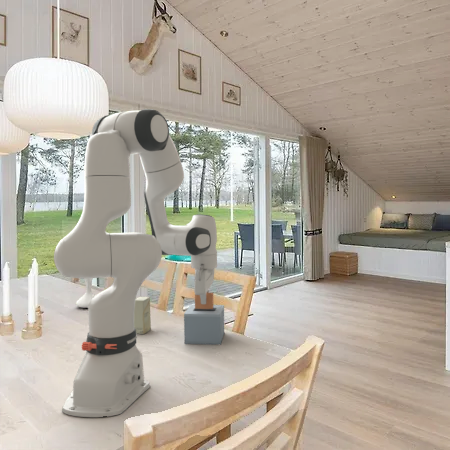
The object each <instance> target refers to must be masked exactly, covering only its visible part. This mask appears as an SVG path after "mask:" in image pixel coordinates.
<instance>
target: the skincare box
mask: <svg viewBox="0 0 450 450" xmlns="http://www.w3.org/2000/svg"><path fill="white" fill-rule="evenodd" d="M151 320H152V319H151V297H150V296H138V297H136V299H135V309H134V328H135V329H136V334H138V335H145V334H147V332H149V331H150V330H151V328H152V324H151Z"/></svg>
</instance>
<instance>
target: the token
mask: <svg viewBox="0 0 450 450" xmlns="http://www.w3.org/2000/svg"><path fill="white" fill-rule="evenodd" d="M206 298H207V302H206V304H201V298H200V295H195V294H194V305H195V309H213V305H214V292H209V293H207V294H206Z"/></svg>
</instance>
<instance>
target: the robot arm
mask: <svg viewBox="0 0 450 450" xmlns="http://www.w3.org/2000/svg"><path fill="white" fill-rule="evenodd" d="M137 154H138V155H139V158H140V163H141V166H142V169H143V172H144V175H145V180H146V184H145V185H144V187H143V197H144V203H145V207H146V211H147V216H148V221H149V224H150V225H149V226H150V229H151V230H150V231H151V234H150V233H149V234H148V233H143V232H137V231H135V232H107V231H106V229H107V226H108V225H109V224H110V223H111V222H113V221H115V220H117V219H119V218H121V217H122V216H124V215H126V214H127V213H128V212H129V210H130V209H131V206H132V191H131V190H132V187H131V185H132V182H131V180H132V179H131V167H130V155H137ZM83 165H84V169H83V171H84V174H83V177H84V180H83V181H84V196H83V197H84V198H83V208H82V212H81V215H80V217H79V219H78V222H77V223H76V225H75V226H74V228H72V230H70V232H68V233H67V235H65V236H64V237H62V239H60V241H58V243H57V245H56V247H55V249H54V253H53V261H54V265H55V268H56V270H57V271H58V272H59V274H61V276H62V277H65V278H71V279H82V280H84V279H87V278H93V279H97V278H100V279H101V278H112V279H113V281H112V283H111V285H110V286H109V287H107V288H106V289H104V290H102V291H100V292H99V293H97V294H94V295H95V296H94V297H93V298H92V299H91V301H90V303H89V306H88V308H87V311H88V312H87V313H88V314H87V315H88V332H87V335H86V336H87V337H86V340H85V341H83V342H82V343H81V350H82V351H85V353H84V356H83V358H82V360H81V363H80V364H79V368H78V370H77V373H76V375H75V377H74V380H73V385H72V387H73V388H72V391H71V392H70V393H69V395H68V397H67V398H66V400H65V402H64V403H63V406H62V409H61V412H62V413H63V414H66V415H69V416H73V417H81V418H83V417H84V418H103V416H107V417H112V416H117V415H120V414H122V413H123V412H125V411H126V410H127V408H129V407H130V406H131V405H132V404H133V403H134V402H135V401H137V399H138V398H139V397H140V396H141V395H143V393H145V391H147V390H148V389H149V388H150V387H151V383H150V381H149V380H147V379H145V373H144V372H145V371H144V361H143V353H142V352H141V351H140V350H139V349H138V347H137V337H138V336H137V334H136V329H135V328H134V309H135V299H136V298H137V294H138V292H139V290H140V288H141V286H142V284H143V282H144V281H145V280H147V278H148V277H149V275H151V274H152V273H154V272H155V270H156V269H158V267H159V265H160V264H161V261H162V257H163V256H174V255H175V256H185V257H186V256H188V257H189V256H190V265H191V266H190V267H191V268H192V269H194V286H193V287H194V288H193V289H194V296H195V295H200V298H201V304H206V302H207V298H206V294H207V293H210V288H211V287H212V285H213V283H214V280H215V269H216V268H217V267H218V251H217V241H218V235H217V234H218V232H217V223H216V219H215V218H214V217H213V216H212V215H210V214H209V215H208V214H203V213H199V214H194V215H192V216H191V217H192V218H191V221H189V222H188V223H186V224H185V225H174V224H171V222H169V220H168V216H167V211H166V206H165V199H166V197H168V196H169V195H171V194H173V193H174V192H175V191H177V190H178V189H180V187H181V186H182V184H183V181H184V178H185V175H184V174H185V173H184V167H183V165H182V162H181V158H180V155H179V152H178V150H177V147H176V145H175V143H174V141H173V139H172V137H171V135H170V128H169V124H168V121H167V119H166V118H165V117H164V115H163V114H162V113H161V112H160V111H159V110H157V109H151V108H144V109H141V110H129V111H127V110H125V111H120V112H116V113H113V114H110V115H109V114H108V115H104V116H102V117H100V118H98V119H97V120H96V121H95V122H94V124H93V127H92V130H91V136H90V137H89V138H88V140H87V144H86V148H85V155H84V164H83Z"/></svg>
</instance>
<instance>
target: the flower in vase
mask: <svg viewBox="0 0 450 450" xmlns="http://www.w3.org/2000/svg"><path fill="white" fill-rule="evenodd" d="M93 279H94V278H87V279H83V280H84V282H85V293H84V294H83V295H82V296H81V297H79V299H78V300H76V302H75V306H76V307H78V308H81V309H82V308H84V309H86V308H87V309H88V306H89V303H90V301H91V299H92V298H93V297H94V296H95V295H96V294H94V293H93V291H92V284H93V283H92V282H93Z"/></svg>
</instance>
